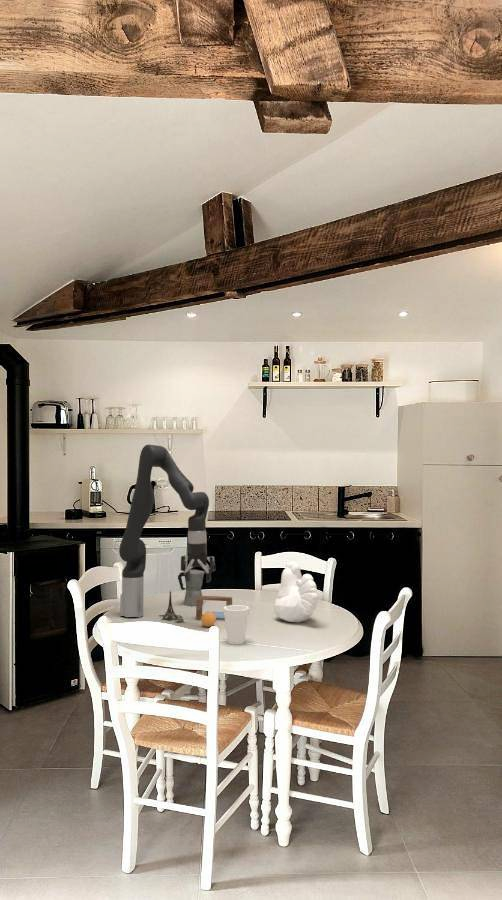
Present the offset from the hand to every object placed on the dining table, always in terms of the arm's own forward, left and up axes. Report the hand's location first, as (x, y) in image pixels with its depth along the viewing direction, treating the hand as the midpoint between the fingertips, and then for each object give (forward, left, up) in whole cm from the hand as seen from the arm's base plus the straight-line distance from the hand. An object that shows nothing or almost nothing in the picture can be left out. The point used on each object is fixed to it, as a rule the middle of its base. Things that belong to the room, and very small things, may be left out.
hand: (198, 581), depth 290 cm
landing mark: (+3, +25, -19) cm, 32 cm away
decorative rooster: (+38, +19, -19) cm, 47 cm away
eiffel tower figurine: (-15, +15, -20) cm, 29 cm away
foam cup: (+18, -16, -19) cm, 31 cm away
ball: (+3, +5, -16) cm, 17 cm away
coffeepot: (-13, +44, -19) cm, 50 cm away
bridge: (+3, +17, -19) cm, 26 cm away
